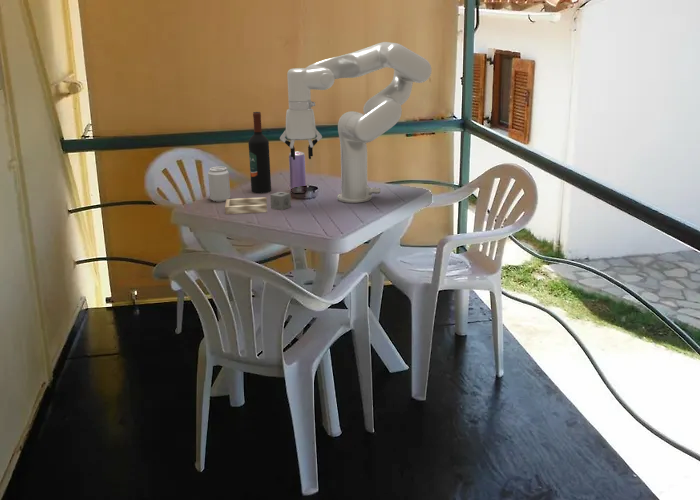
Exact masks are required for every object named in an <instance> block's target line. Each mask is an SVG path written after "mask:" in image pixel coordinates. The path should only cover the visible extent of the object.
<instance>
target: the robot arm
mask: <svg viewBox="0 0 700 500" xmlns="http://www.w3.org/2000/svg"><path fill="white" fill-rule="evenodd" d="M385 68H389V69H393V77H392V80H391V82H390V83H389V84H388V85H387V86H386V87H385V88H383V89H381V90H380V91H379V92H378V93H376V94H374V95H373V96H371V97H370V98H369V99H368V100H366V102H365V103H364V105H363V109H362V110H363V113H361V112H358V111H353V110H351V111H347V112H345V113H343V114H342V115H341V116H340V117H339V119H338V123H337V133H338V138H339V143H340V144H339V145H340V146H339V147H340V176H341V177H340V182H341V185H340V186H341V187H340V188H341V191H340V192H341V193H339V194H337V196H336V197H337V198H336V199H337V200H338V201H339V202H342V203H349V204H351V203H353V204H354V203H355V204H359V203H364V202H369V201H371V200H372V198H373V195H372V194H376V195H377V194H381V188H380V187H379V188H378V187H376V186H375V187H370V186H369V185H368V148H367V147H368V146H367V143H371V142H373V141H374V140H376V139H378V138H379V137H380V136H382V135H383V134H384V133H386V132H387V131H389V130H390V129H392V128H393V127H394V126H395V125H396V124H397V123H398V122H399V121H400V119H401V117H402V111H403V110H402V105H404V104H405V103H406V102H407V101H408V100H409V99H410V96H411V94H412V91H413V90H412V89H413V83H416V84H420V83H424V82H427V81H428V80H429V79H430V77H431V75H432V66H431V63H430V62H429V60H428V59H426V58H425V57H423V56H421V55H420V54H418V53H416V52H414V51H413V50H411V49H409V48H407V47H406V46H404V45H402V44H401V43H397V42H389V41H382V42H378V43H376V44H373V45H370V46H368V47H364V48H361V49H359V50H356V51H353V52H349V53H346V54H342V55H339V56H333V57H330V58H326V59H323V60H320V61H317V62H314V63H312V64H309V65H308V66H306V67H305V68H304V67H302V68H301V67H297V68H295V67H294V68H290V69H289V70H288V71H287V74H286V75H287V76H286V77H287V93H288V94H287V97H288V99H287V100H288V109H286V115H285V130H284V131H283V133H282V134H281V135H280V137H279V140H280V141H282V142H283V143H285V145H286V146H288V147H289V149H290V153H291V157H293V160H295V152H296V148H295V141H298V140H303V141H304V140H307V141H308V143H309V144H308V146H307V151H308V152H307V154H308V159H309V160H312V157H313V156H314V151H313V148H314V146H315V145H317V143H318V142H319V141H320V140H322V139H323V136H322V134H321V133H320V132H319V131H318V129H317V127H316V118H315V113H314V109H313V107H316V102H315V101H312V100H311V99H312V96H311V91H312V90H314V91H315V90H316V91H325V90H329V89H330V88H332V86H333V85H334V83H335V81H336V80H338V79H348V78H349V79H353V78H359V77H362V76H365V75H368V74H371V73H373V72H375V71H376V72H377V71H380V70H381V69H385ZM289 140H290V141H289Z"/></svg>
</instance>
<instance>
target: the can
mask: <svg viewBox="0 0 700 500" xmlns="http://www.w3.org/2000/svg"><path fill="white" fill-rule="evenodd" d="M227 169H228V167H226V166H219V165H218V166H213V167H210V168H209V170H208V172H207V178H208V188H209V191H208V192H209V199H210V200H211V201H212V200H213V202H215V201H216V202H217V203H221V202H226V199H231V187H230V185H231V184H230V173H229V170H227ZM216 202H215V203H216Z"/></svg>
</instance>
